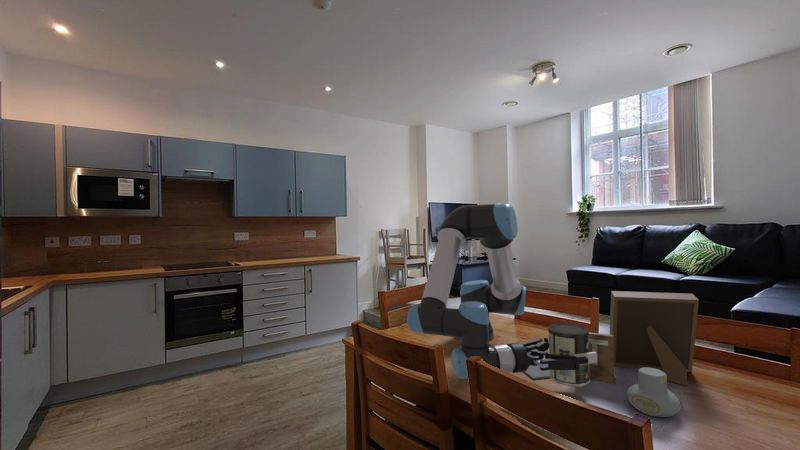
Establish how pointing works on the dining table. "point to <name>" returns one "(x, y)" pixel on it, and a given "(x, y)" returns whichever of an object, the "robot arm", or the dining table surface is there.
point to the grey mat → (537, 372)
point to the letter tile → (602, 357)
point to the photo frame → (654, 331)
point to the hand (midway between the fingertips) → (582, 350)
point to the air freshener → (653, 394)
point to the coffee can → (569, 352)
